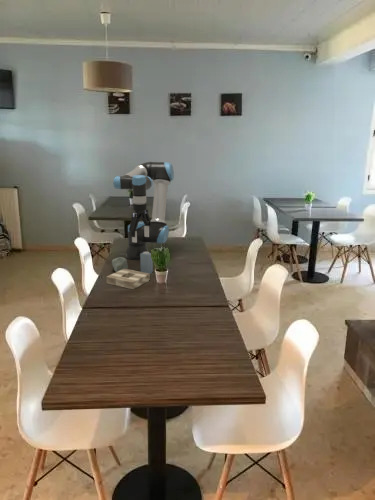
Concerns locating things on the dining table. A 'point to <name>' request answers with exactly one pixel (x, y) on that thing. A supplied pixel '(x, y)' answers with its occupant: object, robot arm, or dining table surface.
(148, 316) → the dining table surface
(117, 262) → the decorative stone
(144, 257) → the keyed peg
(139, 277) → the hub block
